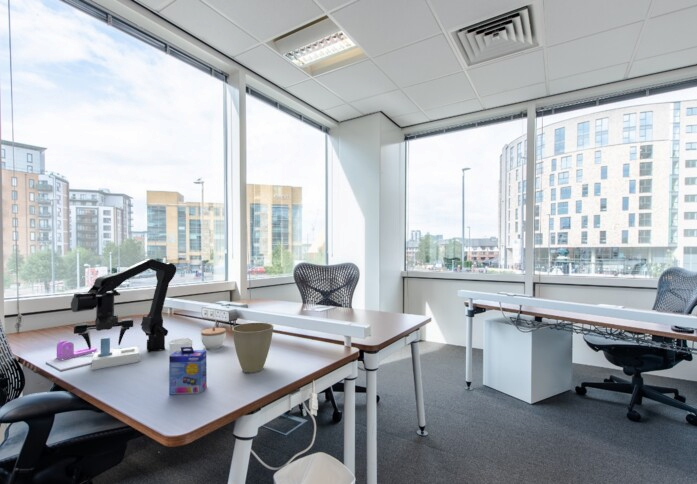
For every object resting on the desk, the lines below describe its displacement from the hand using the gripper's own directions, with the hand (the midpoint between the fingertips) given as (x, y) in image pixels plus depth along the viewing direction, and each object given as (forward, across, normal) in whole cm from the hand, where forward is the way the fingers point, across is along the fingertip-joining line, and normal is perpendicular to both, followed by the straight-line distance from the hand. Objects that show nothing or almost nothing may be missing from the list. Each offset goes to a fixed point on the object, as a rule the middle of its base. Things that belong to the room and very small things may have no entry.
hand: (104, 347), depth 128 cm
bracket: (+7, -10, +21) cm, 24 cm away
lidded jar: (+7, +40, -3) cm, 41 cm away
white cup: (+7, +24, -22) cm, 33 cm away
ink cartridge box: (+7, +23, -47) cm, 53 cm away
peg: (+6, 0, 0) cm, 7 cm away
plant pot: (+7, +46, -41) cm, 62 cm away
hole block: (+6, +4, 0) cm, 8 cm away
